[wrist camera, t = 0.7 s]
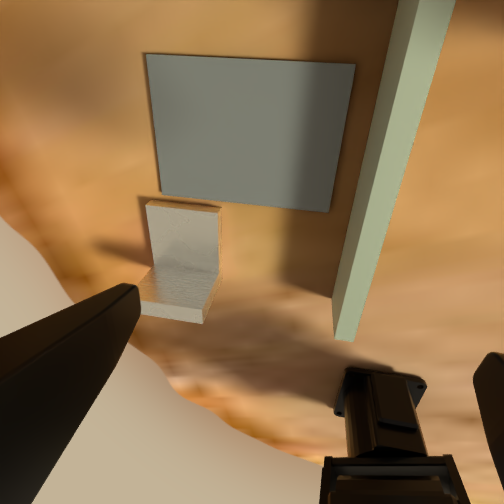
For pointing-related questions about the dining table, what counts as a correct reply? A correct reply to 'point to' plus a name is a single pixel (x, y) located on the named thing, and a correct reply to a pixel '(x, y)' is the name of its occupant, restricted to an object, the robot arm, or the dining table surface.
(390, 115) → the corner frame
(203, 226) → the bracket
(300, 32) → the dining table surface
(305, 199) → the pad
